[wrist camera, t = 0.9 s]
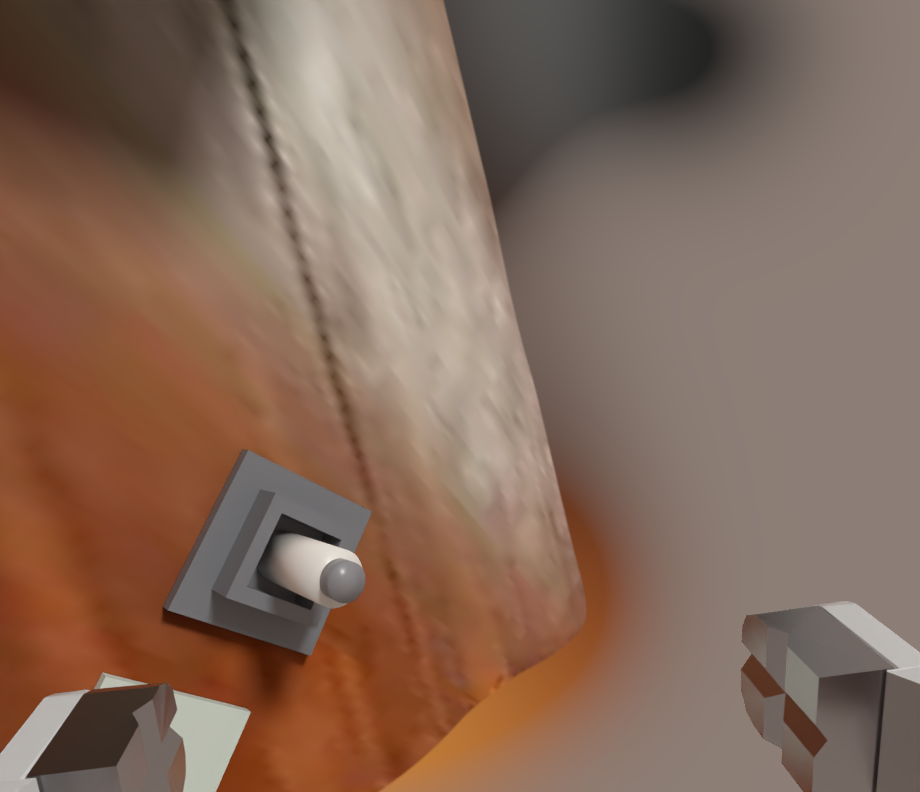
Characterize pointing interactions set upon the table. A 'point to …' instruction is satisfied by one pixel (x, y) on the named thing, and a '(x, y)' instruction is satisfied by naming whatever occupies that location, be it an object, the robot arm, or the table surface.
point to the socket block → (242, 544)
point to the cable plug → (312, 569)
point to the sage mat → (199, 733)
